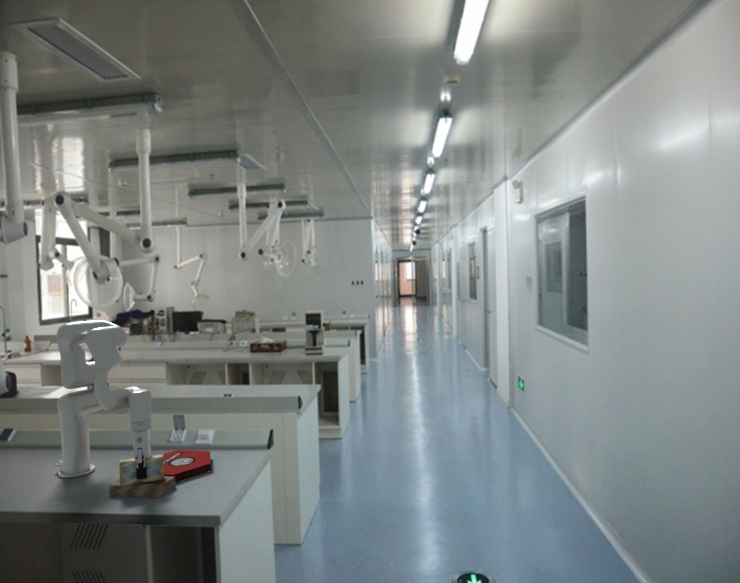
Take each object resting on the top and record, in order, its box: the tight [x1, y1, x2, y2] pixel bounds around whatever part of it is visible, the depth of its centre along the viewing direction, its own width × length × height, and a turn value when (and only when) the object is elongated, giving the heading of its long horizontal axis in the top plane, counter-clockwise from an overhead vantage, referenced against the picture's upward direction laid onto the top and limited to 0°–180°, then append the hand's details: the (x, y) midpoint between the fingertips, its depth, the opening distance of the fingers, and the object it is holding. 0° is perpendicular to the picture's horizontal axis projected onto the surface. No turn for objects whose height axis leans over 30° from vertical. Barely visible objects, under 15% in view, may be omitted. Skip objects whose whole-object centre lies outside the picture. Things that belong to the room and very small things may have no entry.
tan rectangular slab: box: [119, 454, 164, 485], centre depth 182 cm, size 14×3×8 cm, turn 109°
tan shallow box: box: [108, 476, 176, 499], centre depth 182 cm, size 19×10×4 cm, turn 79°
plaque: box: [159, 449, 212, 483], centre depth 203 cm, size 27×4×30 cm
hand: (142, 475), depth 182 cm, fingers open, 4 cm apart
